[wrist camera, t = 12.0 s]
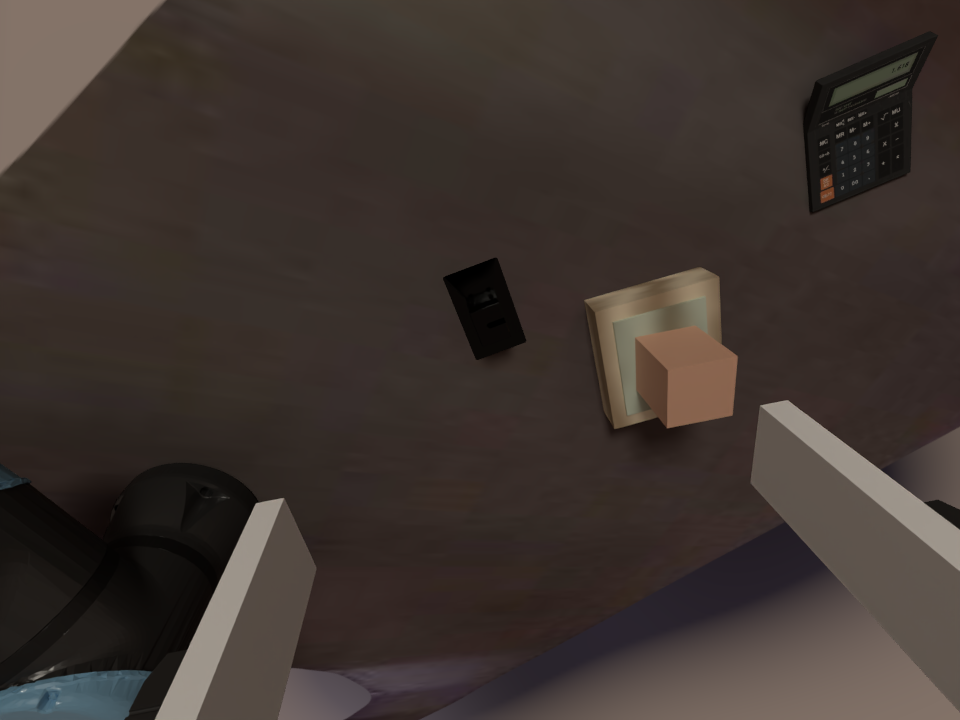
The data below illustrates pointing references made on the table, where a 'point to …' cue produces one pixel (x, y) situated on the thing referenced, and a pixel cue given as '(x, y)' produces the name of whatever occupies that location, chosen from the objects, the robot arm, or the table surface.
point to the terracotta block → (685, 376)
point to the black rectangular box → (485, 308)
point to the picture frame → (645, 332)
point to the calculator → (862, 123)
